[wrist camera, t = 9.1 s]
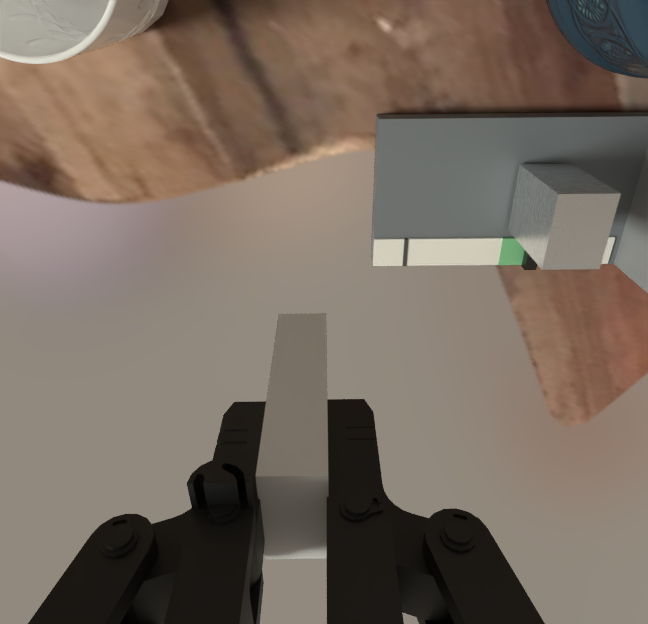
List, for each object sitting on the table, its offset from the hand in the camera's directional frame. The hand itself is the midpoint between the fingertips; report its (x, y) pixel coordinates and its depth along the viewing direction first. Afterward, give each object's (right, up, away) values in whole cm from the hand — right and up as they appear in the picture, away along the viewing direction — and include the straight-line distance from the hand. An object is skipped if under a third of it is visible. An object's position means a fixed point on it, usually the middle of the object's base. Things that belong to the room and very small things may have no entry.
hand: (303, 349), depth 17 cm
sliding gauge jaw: (+13, +7, +15) cm, 21 cm away
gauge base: (+13, +9, +16) cm, 22 cm away
